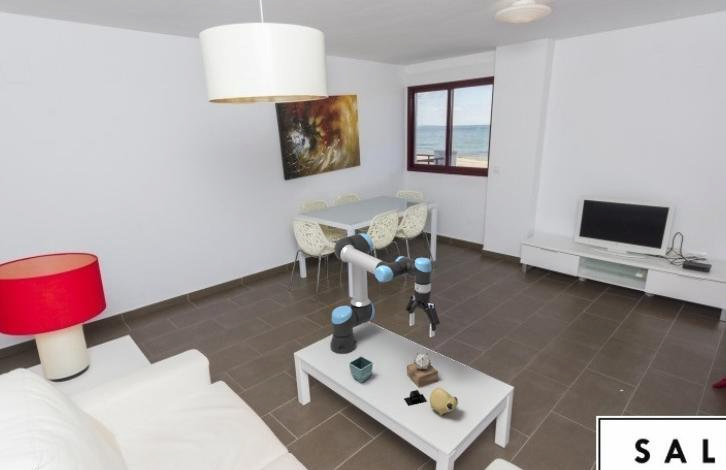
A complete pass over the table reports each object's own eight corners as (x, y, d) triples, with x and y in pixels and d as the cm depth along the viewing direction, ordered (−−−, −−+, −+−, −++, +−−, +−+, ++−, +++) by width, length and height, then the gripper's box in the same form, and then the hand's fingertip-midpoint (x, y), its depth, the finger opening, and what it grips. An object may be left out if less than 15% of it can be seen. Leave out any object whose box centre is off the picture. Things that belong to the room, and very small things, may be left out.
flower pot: (361, 370, 198) (361, 355, 196) (373, 377, 192) (373, 362, 189) (349, 378, 192) (348, 362, 190) (361, 386, 186) (360, 370, 184)
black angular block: (405, 409, 170) (405, 400, 169) (399, 398, 177) (399, 390, 176) (430, 402, 174) (430, 394, 172) (423, 392, 180) (424, 384, 179)
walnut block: (406, 375, 193) (406, 365, 191) (425, 369, 197) (425, 359, 196) (418, 388, 183) (418, 377, 182) (437, 381, 188) (437, 371, 186)
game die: (424, 373, 191) (434, 356, 191) (424, 377, 182) (436, 360, 183) (409, 363, 192) (419, 346, 192) (409, 367, 184) (420, 349, 184)
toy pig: (449, 424, 160) (450, 402, 157) (425, 411, 168) (425, 390, 165) (460, 411, 167) (461, 390, 164) (437, 399, 175) (437, 379, 172)
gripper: (398, 284, 187) (398, 323, 193) (437, 301, 168) (435, 343, 174) (409, 280, 191) (409, 318, 197) (448, 296, 172) (446, 338, 178)
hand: (421, 330), depth 185 cm, fingers open, 13 cm apart
